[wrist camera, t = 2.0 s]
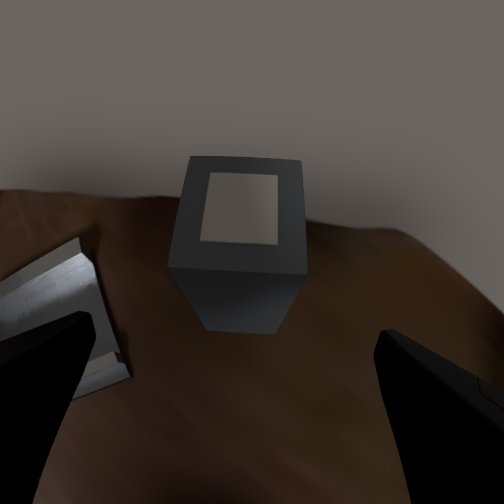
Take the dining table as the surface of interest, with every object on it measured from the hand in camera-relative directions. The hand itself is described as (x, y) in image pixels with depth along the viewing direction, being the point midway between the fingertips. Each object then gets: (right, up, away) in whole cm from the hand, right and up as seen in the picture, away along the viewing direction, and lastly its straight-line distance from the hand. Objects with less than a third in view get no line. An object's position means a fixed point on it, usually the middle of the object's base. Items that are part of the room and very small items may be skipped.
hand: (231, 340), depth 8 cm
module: (0, -1, +12) cm, 12 cm away
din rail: (-15, -4, +10) cm, 19 cm away
